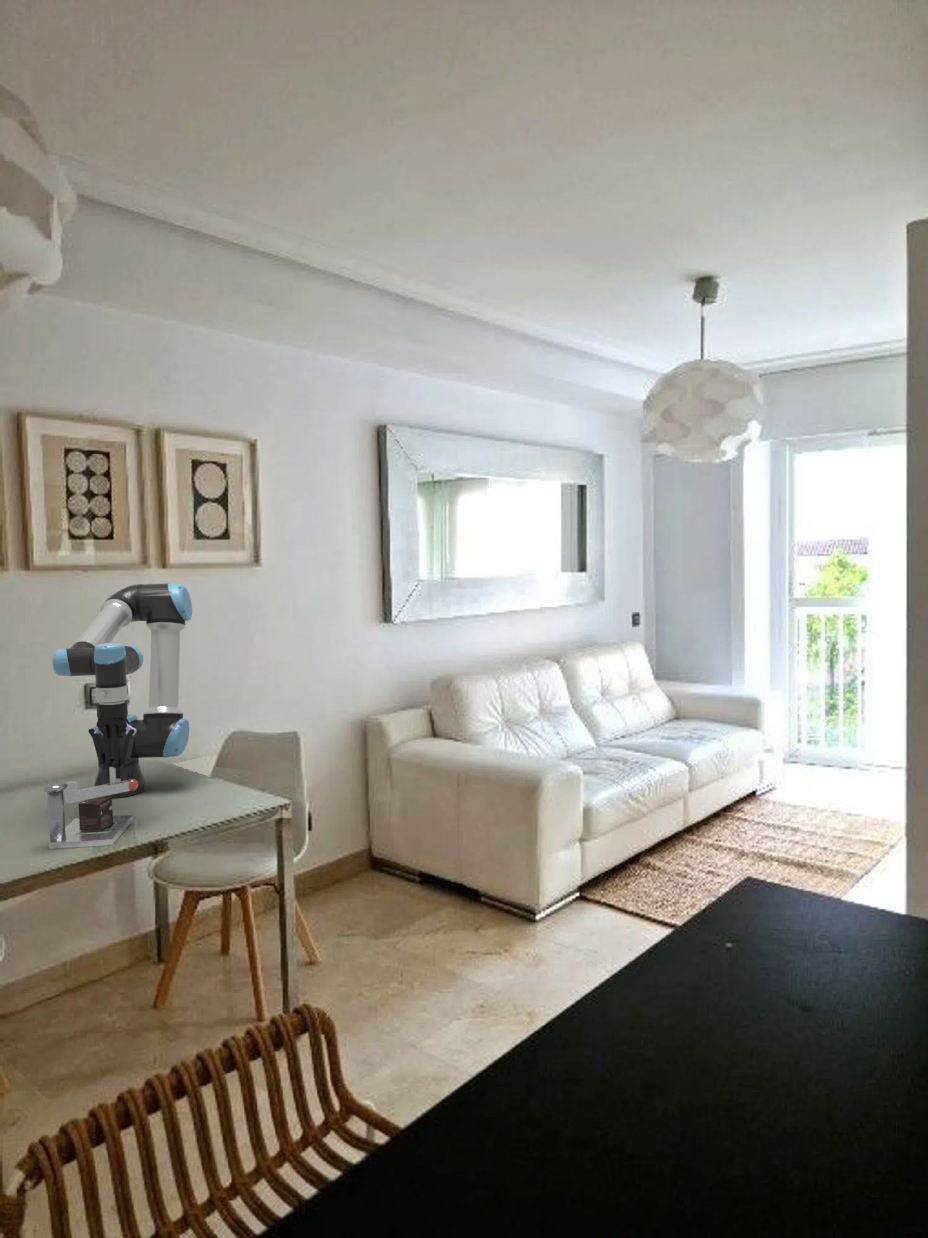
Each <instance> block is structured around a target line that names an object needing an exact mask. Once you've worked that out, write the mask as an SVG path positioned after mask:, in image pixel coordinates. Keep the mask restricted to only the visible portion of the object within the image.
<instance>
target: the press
mask: <svg viewBox="0 0 928 1238" xmlns="http://www.w3.org/2000/svg"><path fill="white" fill-rule="evenodd" d="M46 793H47V812H48V813H47V814H48V827H49V828H48V829H49V842H48V849H49V850H54V849H55V850H56V849H71V848H73V849H74V848H88V847H104V846H113V845H114V844H115V842H116V841H117V840H118V839H119V837H120V836H122V834H123V833H124V832H125V831H126V830H127V828H128V827H129V826H130V824H132V822H133V821H134V819H133V818H134V815H133V814H129V815H113V825H111V826H109V827H107V828H106V829H104V830H102V831H81V830H80V823H79V817H77V818H73V820H72V821H71V822H69V824H68V825H66V817H65V795H64V790H61V791H56V792H46Z"/></svg>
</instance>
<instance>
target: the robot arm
mask: <svg viewBox="0 0 928 1238" xmlns="http://www.w3.org/2000/svg"><path fill="white" fill-rule="evenodd" d="M192 604H193V603H192V599H191V595H190V593H189V591H188V588H187V587H186V586H185V585H183V584H182V583H171V582H167V583H151V584H150V583H149V584H145V583H144V584H142V583H140V584H139V583H138V584H132V585H128V586H125V587H124V588H122V589H119V590H118V591H116V592H115V593H113V594H111V595H110V596H109V597H107V599H105V601H104V602H103V603H102V605H101V606H100V609H99V614H98V615H96V617H95V618H94V619H93V620H92V622H91V623H90V624H89V626H87V628H86V629H85V630H84V631H83V632H82V634H81V635H80V636H79V637H78V639H77V640H76V641H75V642H74V643H73V644H72V646H71V647H69V648H67V647H64V648H59V649H56V651H55V652H54V653H53V656H52V667H53V671H54V673H55V674H56V675H58V676H60V677H82V676H83V677H85V676H94V678H95V694H96V695H95V696H96V697H95V698H96V702H97V704H96V717H97V721H96V725H95V726H93V727H91V728H90V729H88V733H89V735H90V737H91V738H92V742H93V745H94V748H95V752H96V756H97V765H98V769H97V773H96V777H95V780H94V784H93V787H94V786H99V785H104V784H110V783H115V782H120V781H125V780H129V779H135V780H137V782H138V787H137V789H136V790H134V791H127V792H122V793H117V794H112V795H107V796H102V797H111V798H112V799H117V798H119V799H120V798H125V797H131V796H134V795H138V794H141V793H143V792H145V791H146V790H147V781H146V778H145V776H144V774H143V771H142V768H141V766H140V760H139V759H143V758H144V759H146V758H147V759H149V758H150V759H151V758H152V759H153V758H166V759H168V758H172V757H179V756H181V755H183V753H184V751H185V750H186V749H187V748H186V747H187V745H188V742H189V738H190V723H189V720H188V719H186V718H185V717H184V712H183V711H182V710H181V709H180V708H179V688H180V687H179V685H180V682H179V681H180V651H181V650H180V649H181V648H180V647H181V646H180V645H181V632H182V630H183V629H184V628H185V627H186V621H190V620H191V619H192V617H193V616H192V615H193V605H192ZM134 622H145V623H146V627H147V629H149V631H150V659H149V664H150V665H149V690H148V691H149V692H148V708H147V709H146V711H144V712H143V715H142V716H143V717H142V719H138V717H137V714H128V711H129V710H128V709H129V708H128V702H126V701H127V700H128V686H127V675H131V674H134V673H136V671H138V670H139V669H141V668H142V666H143V663H144V655H143V653H142V651H141V650H140V649H139V648H138V647H136V646H133V645H128V646H127V645H124V644H123V643H122V642H113V640H114V638H115V637H116V636H117V634H118V633H120V631H121V629H122V628H125V627H127V626H128V625H130V623H134Z"/></svg>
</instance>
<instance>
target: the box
mask: <svg viewBox="0 0 928 1238" xmlns="http://www.w3.org/2000/svg"><path fill="white" fill-rule="evenodd" d="M112 801H113V798H111V797H98V798H93V799H88V800H83V801H79V802H78V818H79V823H80V830H81V831H102V830H104V829H106V828H107V827H109V826H111V825H113V816H114V814H113V802H112Z"/></svg>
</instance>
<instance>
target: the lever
mask: <svg viewBox="0 0 928 1238" xmlns="http://www.w3.org/2000/svg"><path fill="white" fill-rule="evenodd" d="M78 786H79V785H78V781H75V780H69V781H64V782H53V783H48V784H45V785H43V791H44V792H45V793H47V792H56V791H61V790H63V791H64V803H66V804H73V803H79V802H82V801H84V800H88V799H93V798H98V797H102V796H107V795H112V794H117V793H122V792H127V791H134V790H136V789H137V787H138V782H137V780H135V779H129V780H125V781H120V782H115V783H110V784H104V785H99V786H94V785H93V786H91V787H86V788H79V789H78Z"/></svg>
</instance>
